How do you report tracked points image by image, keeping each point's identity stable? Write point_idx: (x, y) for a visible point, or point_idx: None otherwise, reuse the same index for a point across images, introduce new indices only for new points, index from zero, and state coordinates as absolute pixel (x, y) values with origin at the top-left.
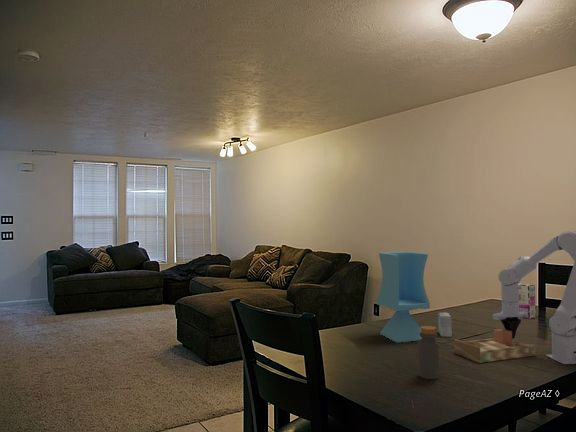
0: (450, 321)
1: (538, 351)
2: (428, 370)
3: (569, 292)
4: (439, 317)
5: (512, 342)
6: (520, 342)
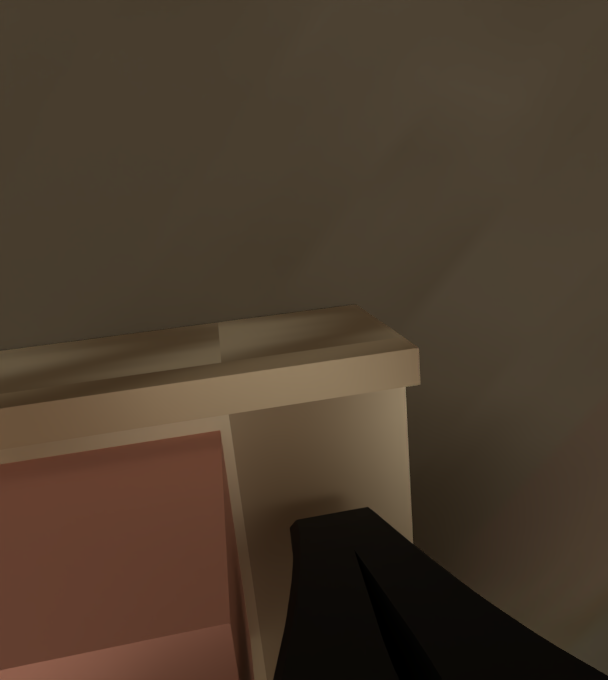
0: None
1: (559, 598)
2: None
3: None
4: None
5: (272, 621)
6: None
